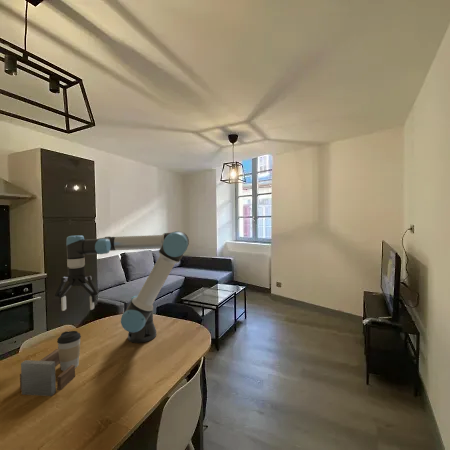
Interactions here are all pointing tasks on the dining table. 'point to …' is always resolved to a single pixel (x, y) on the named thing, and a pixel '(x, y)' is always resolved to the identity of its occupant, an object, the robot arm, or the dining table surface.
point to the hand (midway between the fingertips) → (78, 309)
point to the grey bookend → (38, 378)
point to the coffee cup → (69, 349)
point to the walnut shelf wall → (63, 377)
